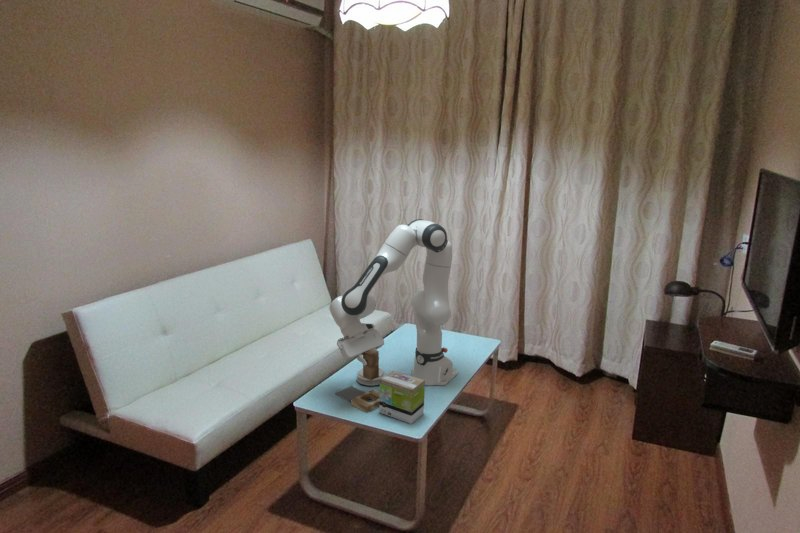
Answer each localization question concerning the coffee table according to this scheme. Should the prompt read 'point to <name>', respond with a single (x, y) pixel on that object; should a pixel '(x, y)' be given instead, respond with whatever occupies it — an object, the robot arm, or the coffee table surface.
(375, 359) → the walnut block
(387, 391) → the tea box
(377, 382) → the grey round disc
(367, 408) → the pocket board
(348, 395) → the rubber pad
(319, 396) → the coffee table surface
